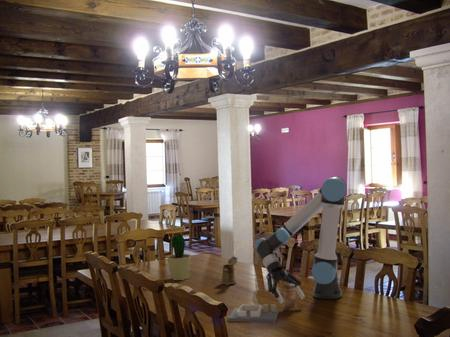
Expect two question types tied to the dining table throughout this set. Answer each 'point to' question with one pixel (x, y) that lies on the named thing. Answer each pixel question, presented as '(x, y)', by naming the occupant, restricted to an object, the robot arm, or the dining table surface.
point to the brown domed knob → (289, 297)
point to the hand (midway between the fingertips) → (293, 300)
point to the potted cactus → (179, 259)
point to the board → (255, 313)
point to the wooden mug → (229, 272)
